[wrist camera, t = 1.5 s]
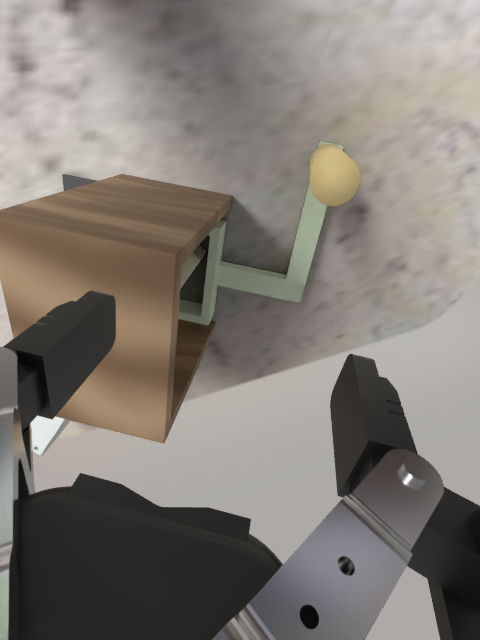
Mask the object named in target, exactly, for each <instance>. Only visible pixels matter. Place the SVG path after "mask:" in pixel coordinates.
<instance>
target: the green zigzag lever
mask: <svg viewBox="0 0 480 640" xmlns="http://www.w3.org/2000/svg"><path fill="white" fill-rule="evenodd" d="M343 148H344V146H343V145H338V144H333V143H328V142H322V141H319V144H318V148H317V149H316V150H315V151H314V152H313V154H312V155H311V158H310V162H309V168H310V181H309V185H308V189H307V193H306V197H305V201H304V205H303V209H302V214H301V218H300V222H299V226H298V230H297V234H296V238H295V242H294V246H293V250H292V254H291V259H290V263H289V267H288V271H287V275H285V274H280V273H275V272H271V271H266V270H261V269H256V268H252V267H247V266H242V265H237V264H233V263H228V262H223V261H221V258H222V251H223V243H224V236H225V229H226V221H222V220H220V221H219V222H218V223H217V225H216V226H215V227H214V228H213V229H212V230H211V232H210V233H209V234H208V235H207V236H210V242H209V251H208V260H207V268H206V277H205V286H204V295H203V304H201V303H196V302H192V301H187V300H183V299H180V300H179V313H178V319H181V320H186V321H190V322H194V323H199V324H203V325H209V323H210V321H211V319H212V317H213V315H214V310H215V303H216V295H217V288H218V286H222V287H227V288H231V289H236V290H241V291H245V292H250V293H255V294H259V295H264V296H269V297H273V298H278V299H282V300H287V301H292V302H296V303H300V302H301V298H302V295H303V291H304V288H305V284H306V280H307V277H308V273H309V270H310V266H311V262H312V259H313V255H314V252H315V248H316V245H317V241H318V237H319V234H320V230H321V227H322V223H323V219H324V216H325V212H326V209H327V206H338V205H342V204H344V203H346V202H347V201H349V200H350V199H351V198H352V197H353V196H354V195H355V193H356V192H357V190H358V188H359V185H360V180H361V175H360V170H359V167H358V165H357V164H356V162H355V161H354V160H353V159H352V158H350V157H349V156H348V155H347V154H346V153H345V152H344V151H343Z"/></svg>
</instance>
